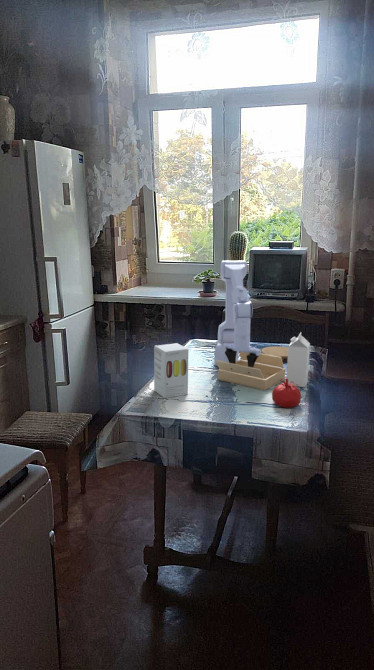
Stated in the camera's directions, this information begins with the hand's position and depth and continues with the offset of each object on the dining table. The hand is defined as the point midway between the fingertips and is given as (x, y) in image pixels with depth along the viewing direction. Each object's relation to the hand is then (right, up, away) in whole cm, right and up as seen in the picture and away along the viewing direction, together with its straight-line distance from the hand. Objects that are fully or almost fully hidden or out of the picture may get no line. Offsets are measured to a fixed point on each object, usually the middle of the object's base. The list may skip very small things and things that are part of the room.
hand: (241, 370), depth 188 cm
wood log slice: (+21, +3, +38) cm, 43 cm away
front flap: (-1, +1, -1) cm, 1 cm away
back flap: (+9, +4, +12) cm, 15 cm away
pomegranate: (+13, -10, -17) cm, 24 cm away
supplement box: (-26, -8, -6) cm, 28 cm away
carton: (+5, -4, +8) cm, 10 cm away
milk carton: (+21, -5, +4) cm, 22 cm away
